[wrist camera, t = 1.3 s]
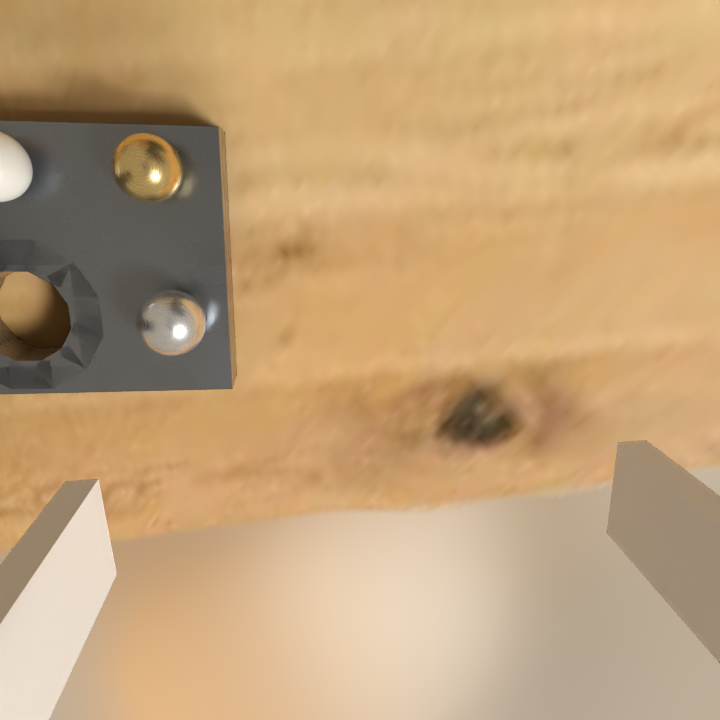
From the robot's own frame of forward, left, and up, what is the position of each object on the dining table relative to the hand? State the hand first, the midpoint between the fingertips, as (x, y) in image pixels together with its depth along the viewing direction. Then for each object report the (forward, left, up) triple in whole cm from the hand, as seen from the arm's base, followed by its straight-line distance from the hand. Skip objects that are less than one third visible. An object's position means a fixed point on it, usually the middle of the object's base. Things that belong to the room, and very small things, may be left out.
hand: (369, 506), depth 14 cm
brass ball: (-9, -8, -15) cm, 19 cm away
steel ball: (-2, -8, -15) cm, 17 cm away
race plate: (-4, -12, -19) cm, 23 cm away
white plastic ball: (-9, -15, -15) cm, 23 cm away
